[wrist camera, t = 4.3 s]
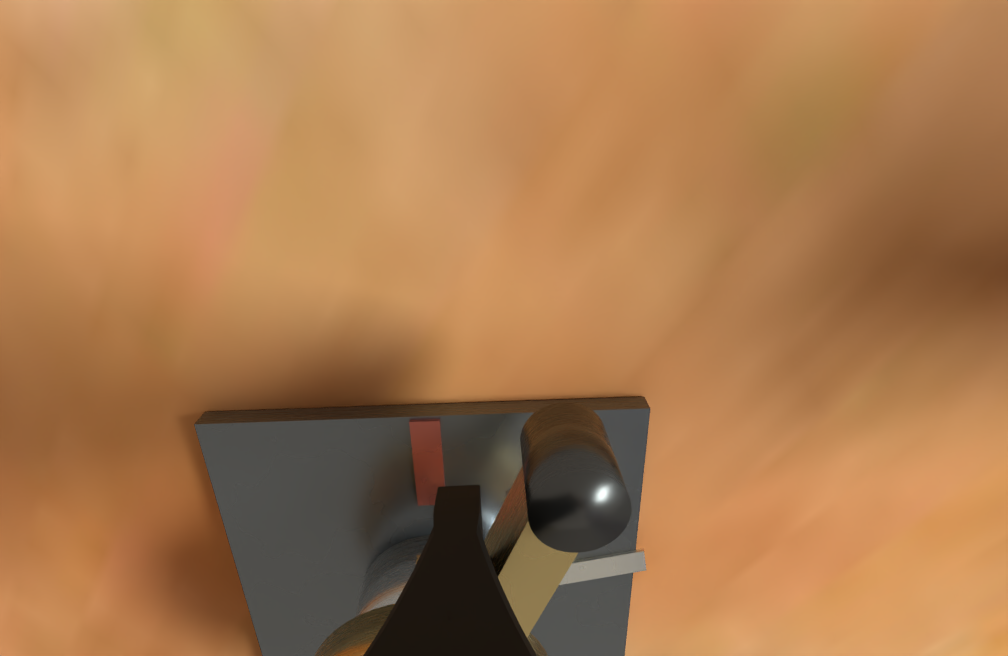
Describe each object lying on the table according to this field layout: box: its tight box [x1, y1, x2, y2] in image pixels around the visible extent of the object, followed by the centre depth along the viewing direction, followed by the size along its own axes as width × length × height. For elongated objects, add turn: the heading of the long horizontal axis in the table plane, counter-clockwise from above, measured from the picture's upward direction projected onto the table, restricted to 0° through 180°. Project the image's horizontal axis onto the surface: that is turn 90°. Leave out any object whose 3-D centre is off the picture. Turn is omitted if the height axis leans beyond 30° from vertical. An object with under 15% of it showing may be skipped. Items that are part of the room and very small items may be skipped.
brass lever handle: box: [315, 402, 632, 656], centre depth 12 cm, size 12×6×2 cm, turn 158°
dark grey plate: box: [194, 397, 650, 656], centre depth 16 cm, size 13×12×3 cm
